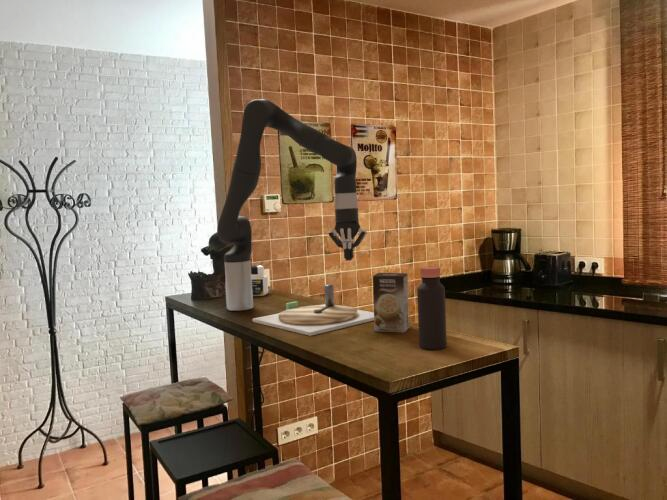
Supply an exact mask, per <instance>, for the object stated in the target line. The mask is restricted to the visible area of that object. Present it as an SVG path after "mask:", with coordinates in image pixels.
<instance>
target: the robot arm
mask: <svg viewBox="0 0 667 500" xmlns="http://www.w3.org/2000/svg"><path fill="white" fill-rule="evenodd" d="M266 128H271V129H274V130H277V131H279V132H281V133H283V134H285V135H286V136H288V137H289V138H290V139H291V140H293V141H294V142H295V143H297V144H298V145H299V146H300V147H302V148H304V149H305V150H308V151H309V152H312V153H313V154H315V155H318V156H321V158H323V159H325V160H326V161H328V162H330V163H331V164H333V165H335V166H336V172H335V173H336V176H335V177H334V181H333V182H334V204H333V205H334V207H333V208H334V216H335V225H334V229H333V230H332V231H331V232H329V233H328V236H329V237H330V238H331V240H332V241H333V242H334V244H335V245H336V246H337V247H338V248H341V249H343V258H344V260H345V261H348V262H350V261H352V260H353V259H354V257H355V255H354V254H355V253H354V248H357V247H358V246H360V244H361V243H362V241H363V240H364V238H365V237H366V235H367V233H368V232H367V231H366V230H363V229H362V228H361V225H360V223H359V222H360V221H359V203H358V201H359V200H358V199H359V198H358V194H357V181H356V175H357V153H356V151H355V149H354V148H353V147H351V146H349V145H346V144H343V143H342V142H339V141H337V140H335V139H333V138H331V137H330V136H328V135H327V134H325V133H323V132H321V131H320V130H318V129H316V128H315V127H312V126H310V125H308V124H306V123H303V122H302V121H300V120H298V119H297V118H295V117H293V116H292V115H290V114H289V113H288V112H286V111H285V110H284V109H282V108H281V107H279V106H278V105H277V104H275V103H274V102H273V101H271V100H269V99H267V98H258V99H256V98H255V99H253V100H250V101H248V103H247V104H246V105H245V106H244V109H243V114H242V124H241V131H240V137H239V143H238V146H237V150H236V156H235V159H234V162H233V167H232V172H231V176H230V182H229V186H228V189H227V195H226V198H225V202H224V204H223V208H222V210H221V213H220V216H219V219H218V223H217V228H216V229H217V230H216V231H217V232H216V233H217V238H218V239H219V241H220V242H221V243H225V244H231V243H232V244H233V245H232V247H231V249H229V250H228V251H227V252H225V253H224V254H223V255H224V256H223V260H224V262H223V263H224V273H225V282H224V287H225V302H226V303H225V304H226V309H227V310H228V311H235V312H238V311H246V310H251V309H253V308H254V298H253V297H254V296H253V293H252V278H251V266H252V265H251V254H252V251H253V249H252V246H253V244H252V237H253V236H252V225H251V223H250V222H251V221H250V220H249V219H248V218H247V216H244V215H240V212H241V209H242V208H243V206H244V204H245V203H246V202H247V200H248V199H249V198H250V197H251V195H252V194H253V193H254V191H255V190H256V188H257V186H258V183H259V180H260V175H261V171H262V156H261V142H262V138H263V135H264V132H265V129H266ZM357 235H358V236H357ZM338 236H339V237H340V238H339V237H338ZM356 236H357V238H356ZM355 238H356V239H355Z"/></svg>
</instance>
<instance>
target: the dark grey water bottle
mask: <svg viewBox="0 0 667 500" xmlns="http://www.w3.org/2000/svg"><path fill="white" fill-rule="evenodd" d="M419 273H420V279H421V283H420V284H419V285H418V286H417V287H416V288H417V289H416V293H417V294H416V295H417V296H416V297H417V317H418V319H417V321H418V322H417V323H418V344H419V345H418V346H419V347H420V348H421V349H422V350H426V351H427V350H428V351H437V350H438V351H439V350H443V349H445V348H446V347H447V345H448V344H447V317H446V316H447V314H446V312H447V311H446V288H445V286H444V285H443V284H442V283H441V281H440V279H441V275H442V274H441V267H439V266H423V267H420V269H419Z"/></svg>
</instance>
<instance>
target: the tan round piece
mask: <svg viewBox="0 0 667 500" xmlns="http://www.w3.org/2000/svg"><path fill="white" fill-rule="evenodd" d="M323 287H324V301H325V302H324V304H325V305H322V304H316V305H314V304H313V305H306V306H304V305H303V306H299V307H297V308H292V309H288V310H286V309H284V310H283V311H280V312H279V315H278V316H279V320H280V321H282V322H286V323H291V324H327V323H335V322H341V321H345V320H349V319H352V318H354V317H356V316H357V310H358V309H357V308H355V307H354V306H348V305H338V304H335V295H334V292H335V291H334V284H328V283H327V284H324V286H323Z"/></svg>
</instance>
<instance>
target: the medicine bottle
mask: <svg viewBox="0 0 667 500" xmlns="http://www.w3.org/2000/svg"><path fill="white" fill-rule="evenodd" d="M264 268H265V267H264V266H263V265H260V264H256V265H255V264H254V265H251V278H252V293H253V297H261V296H262V297H264V296H265V295H267V294H268V293H269V284H268V283H269V282H268V276H267V275H265V269H264Z"/></svg>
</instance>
